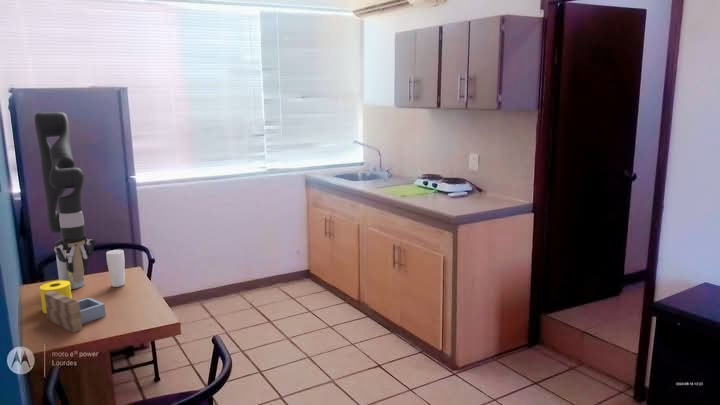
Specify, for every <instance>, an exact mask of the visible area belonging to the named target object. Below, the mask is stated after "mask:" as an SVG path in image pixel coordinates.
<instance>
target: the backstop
mask: <svg viewBox="0 0 720 405" xmlns="http://www.w3.org/2000/svg"><path fill="white" fill-rule="evenodd" d="M44 295H45V302H46V310H47V313H46V316H47V320H49V322H50V321H51V322H52V323H54V324H56V325H58V326H59V327H62V328H64V329H66V330H67V331H70V332H72V333H73V334H74V333H76V332H80V331H82V330H83V324H82V322H81V313H80V305H79V302H77V301H78V300H75V299H73V298H72V299H70V298H68V297H66V296H64V295H61V294H59V293H57V292H55V291H51V292H47V293H44Z"/></svg>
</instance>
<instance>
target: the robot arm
mask: <svg viewBox="0 0 720 405" xmlns="http://www.w3.org/2000/svg"><path fill="white" fill-rule="evenodd" d="M34 126H35V132H36V137H37V141H38V142H37V143H38V148H39V154H40V162H41V173H42V174H41V175H42V181H43V186H44V192H45V202H46V216H47V217H46V218H47V226H48V229H49V231H50V233H53V234H59V233H60V237H61V238H60V239H58V240H56V241H55V242H54V247H53V248H52V249H53V251H54V253H55V256H56V259H55V260H56V265H57V266H56V267H57V274H58V275H57V276H58V281H69V282H70V286H71V290H76V289H80V288H83V286H84V285H85V280H84V281H82V282H77V283H75V282H74V279H73V276H72V273H73V272H74V271H73V263H72V257H73V255H74V249H75V248H74V247H72V246H71V247H68V244H69V243H74V242H78V241H83V240H85V244H84V245H82V246H80V250H81V255H82V260H83V266H84V270H87V268H88V265H89V264H88V258H89V257H92V255H93V252H94V247H95V242H96V241H95V239H91V238H89V239H88V238H87V237H86V228H85V227H86V225H85V218H84V214H83V210H82V209H83V208H82V190H83V185H84V181H85V175H84V172H83V170H82V169H81V168H79V167H75V160H74V156H73V153H72V152H73V151H72V142H71V141H72V140H71V130H70V129H71V128H70V121H69V118H68V115H67V114H66V113H65V112H61V111H56V112H53V111H51V112H37V113H36V114H35V116H34ZM54 137H55V138H56V137H57V140H56V141H55V142H54V143H53V145H51V144H50V143H49V141H48V138H54ZM67 189H72V191H71V192H70V193H67V194H65V192H66V191H67ZM57 207H58V210H57ZM86 245H87V246H86ZM85 246H86V249H85ZM84 276H85V275H84ZM84 276H83V278H84V279H85V277H84Z"/></svg>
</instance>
